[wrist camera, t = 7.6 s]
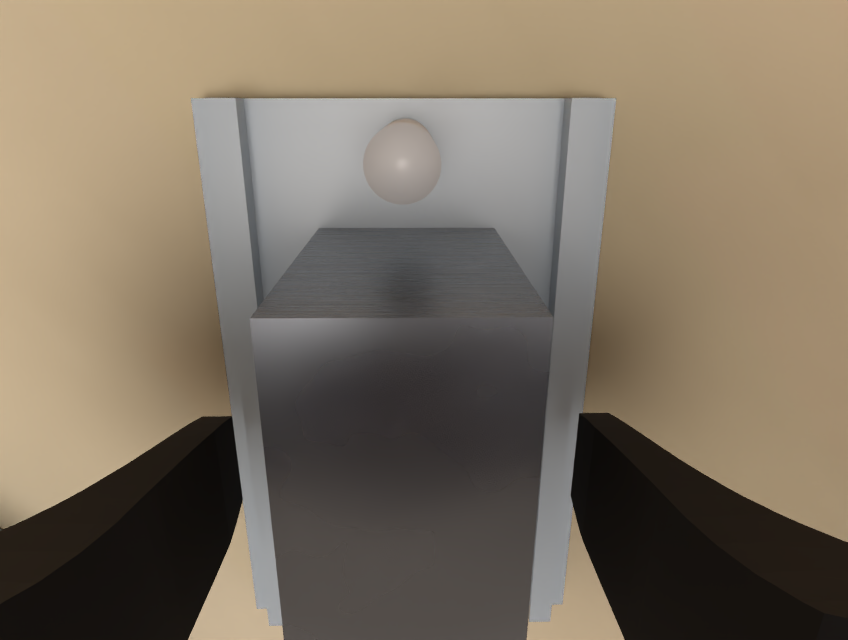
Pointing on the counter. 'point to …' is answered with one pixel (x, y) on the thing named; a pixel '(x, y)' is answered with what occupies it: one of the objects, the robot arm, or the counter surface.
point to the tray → (409, 208)
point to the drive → (403, 434)
